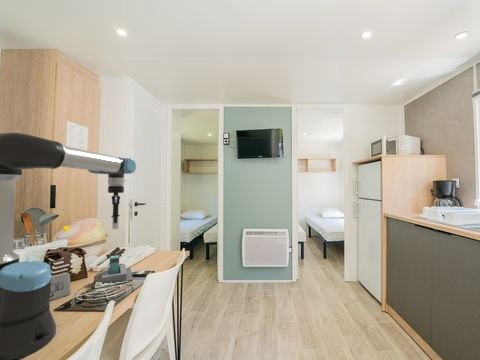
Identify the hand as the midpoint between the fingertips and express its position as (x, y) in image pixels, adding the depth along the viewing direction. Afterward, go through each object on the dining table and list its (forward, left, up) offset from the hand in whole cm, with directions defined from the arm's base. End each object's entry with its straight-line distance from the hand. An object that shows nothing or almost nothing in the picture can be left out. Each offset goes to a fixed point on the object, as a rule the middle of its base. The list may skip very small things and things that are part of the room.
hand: (115, 228), depth 117 cm
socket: (-6, 0, -24) cm, 25 cm away
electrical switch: (-15, +22, -25) cm, 36 cm away
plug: (-6, 0, -23) cm, 24 cm away
